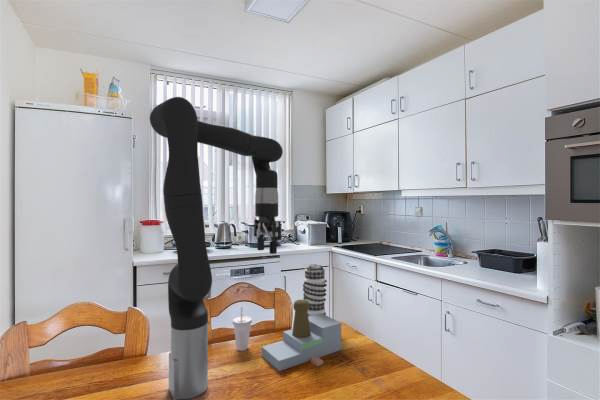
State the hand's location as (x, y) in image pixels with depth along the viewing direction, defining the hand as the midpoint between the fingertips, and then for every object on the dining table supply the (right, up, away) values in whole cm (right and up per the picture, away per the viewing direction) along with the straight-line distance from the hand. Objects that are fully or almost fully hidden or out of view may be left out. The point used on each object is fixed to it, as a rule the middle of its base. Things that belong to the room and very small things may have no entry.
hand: (266, 251), depth 103 cm
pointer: (+16, -33, -6) cm, 37 cm away
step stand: (+12, -33, 0) cm, 35 cm away
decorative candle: (+17, -34, +18) cm, 41 cm away
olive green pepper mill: (+11, -27, +1) cm, 30 cm away
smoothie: (-9, -33, +4) cm, 35 cm away
